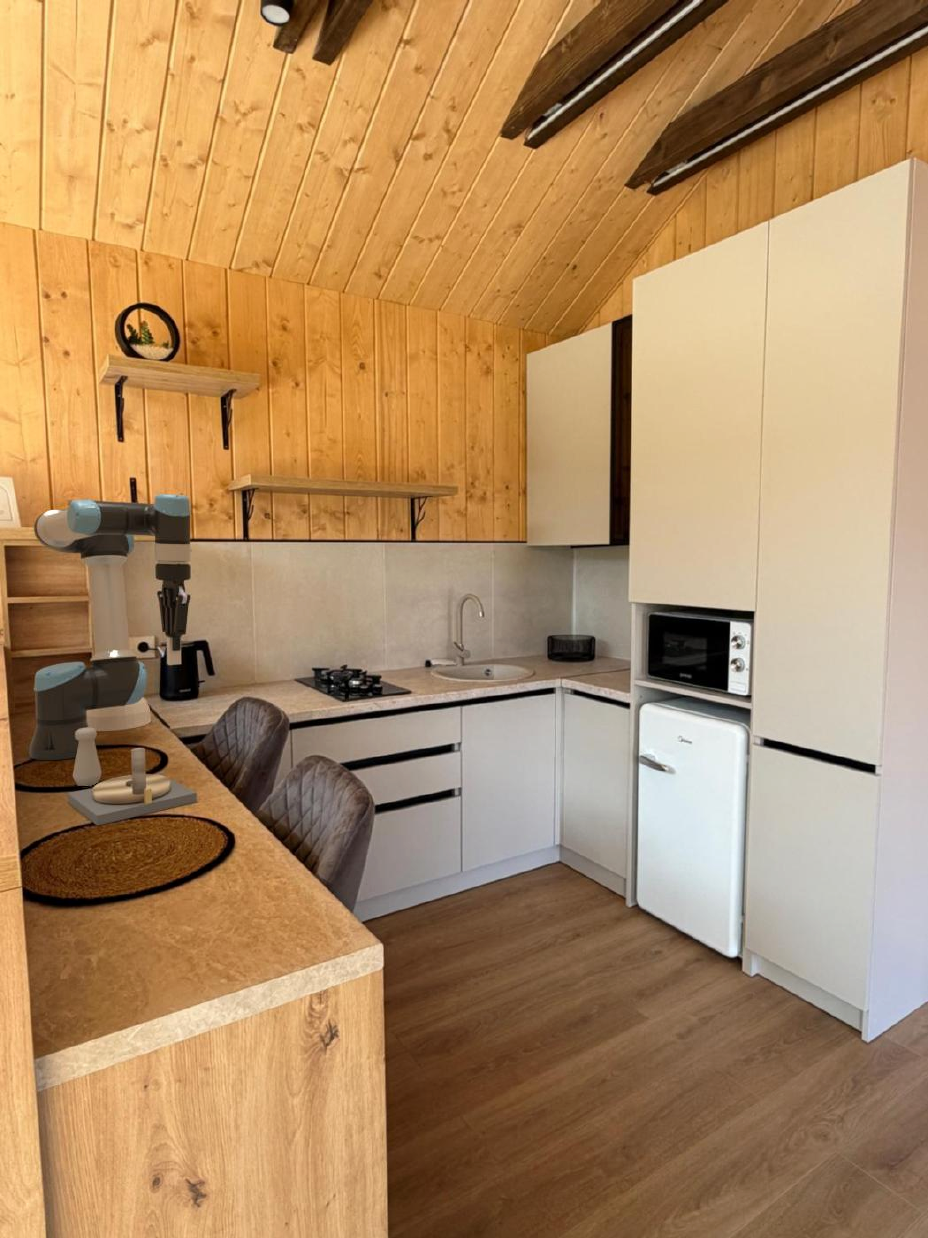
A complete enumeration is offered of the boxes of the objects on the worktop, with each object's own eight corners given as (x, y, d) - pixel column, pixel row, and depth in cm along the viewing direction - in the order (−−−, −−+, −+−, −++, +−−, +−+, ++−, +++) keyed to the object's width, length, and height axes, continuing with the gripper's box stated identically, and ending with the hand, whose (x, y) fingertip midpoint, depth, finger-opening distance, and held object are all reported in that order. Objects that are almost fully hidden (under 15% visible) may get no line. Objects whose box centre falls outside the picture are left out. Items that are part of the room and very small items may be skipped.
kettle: (149, 714, 238) (147, 659, 236) (153, 728, 219) (152, 669, 218) (79, 719, 229) (77, 663, 227) (78, 734, 210) (76, 673, 209)
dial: (86, 789, 155) (84, 741, 154) (159, 776, 164) (158, 731, 163) (101, 809, 143) (99, 757, 142) (179, 794, 153) (178, 745, 152)
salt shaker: (89, 789, 162) (87, 732, 161) (67, 787, 163) (65, 731, 162) (107, 781, 168) (105, 726, 167) (85, 779, 169) (83, 725, 168)
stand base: (67, 802, 153) (67, 779, 153) (162, 782, 168) (161, 761, 167) (97, 825, 141) (96, 800, 140) (196, 801, 155) (196, 779, 154)
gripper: (201, 564, 164) (202, 666, 166) (177, 561, 173) (178, 658, 176) (168, 564, 159) (169, 670, 161) (145, 561, 168) (146, 661, 170)
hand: (174, 664), depth 168 cm, fingers closed
